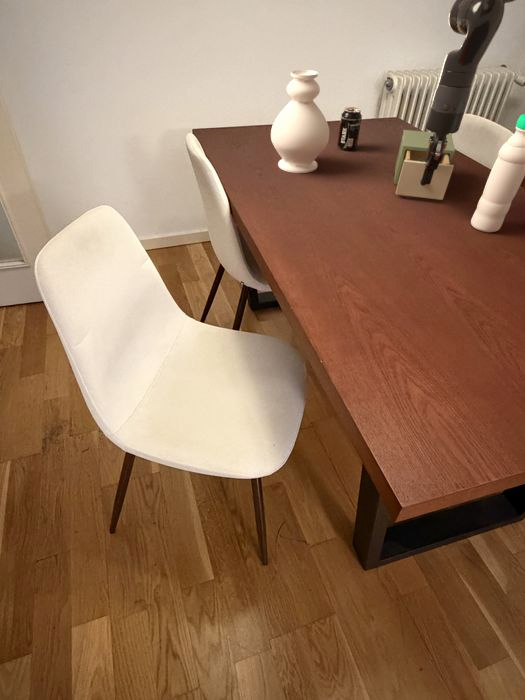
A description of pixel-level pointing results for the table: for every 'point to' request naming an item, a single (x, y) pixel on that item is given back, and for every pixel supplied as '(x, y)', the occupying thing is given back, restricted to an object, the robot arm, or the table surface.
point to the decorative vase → (300, 125)
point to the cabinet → (418, 147)
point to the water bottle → (502, 182)
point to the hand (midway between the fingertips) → (425, 182)
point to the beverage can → (349, 128)
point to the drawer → (414, 172)
